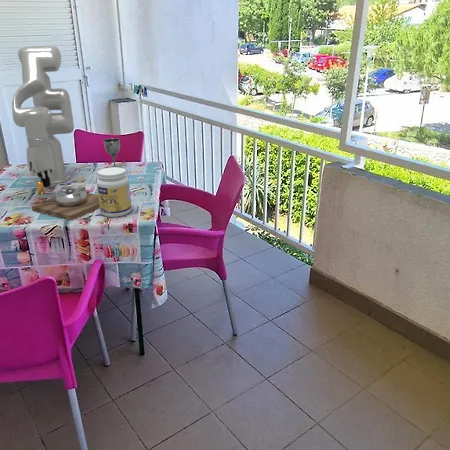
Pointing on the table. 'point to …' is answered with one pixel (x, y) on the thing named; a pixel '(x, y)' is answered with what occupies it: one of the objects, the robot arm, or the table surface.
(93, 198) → the nut board
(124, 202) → the supplement tub
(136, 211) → the table surface
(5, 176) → the table surface
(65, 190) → the silver and gold piece
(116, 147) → the wine glass
